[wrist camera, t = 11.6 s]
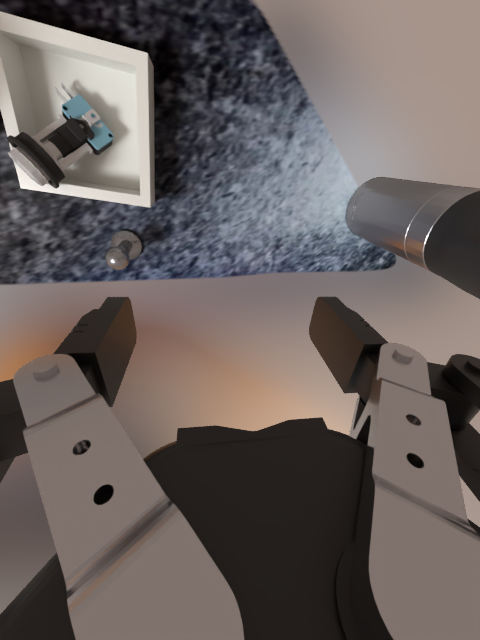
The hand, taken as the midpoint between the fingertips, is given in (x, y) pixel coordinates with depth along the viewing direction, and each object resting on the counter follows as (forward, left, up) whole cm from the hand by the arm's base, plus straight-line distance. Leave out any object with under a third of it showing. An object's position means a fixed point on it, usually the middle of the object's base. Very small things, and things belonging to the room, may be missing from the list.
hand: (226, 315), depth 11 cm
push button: (+13, -8, -30) cm, 34 cm away
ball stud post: (+11, +8, -32) cm, 35 cm away
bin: (+14, -6, -32) cm, 36 cm away
